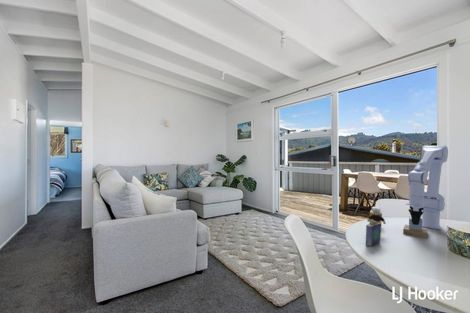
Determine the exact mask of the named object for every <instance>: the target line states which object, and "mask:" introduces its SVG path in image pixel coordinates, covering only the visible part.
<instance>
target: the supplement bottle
mask: <svg viewBox="0 0 470 313" xmlns="http://www.w3.org/2000/svg"><path fill="white" fill-rule="evenodd" d="M374 208H378V209H379V210H380V211H381V208H380V207H378V206H372V207H371V210H370V211H369V217H370V216H371V215H374V213H373V209H374ZM379 216H381V217H382V218H383V213H382V211H381V213H380V214H379ZM371 221H372V220H371ZM371 221H369V222H368V224H370V223H371ZM380 223H381V225H382V223H383V222H382V221H381V220H380Z"/></svg>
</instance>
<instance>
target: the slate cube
mask: <svg viewBox="0 0 470 313" xmlns="http://www.w3.org/2000/svg"><path fill="white" fill-rule="evenodd" d="M408 225H409V229H413V230H419V231H422V228H423V227H422V217H421V218H420V221H419V224H418V225H414V224H413V223H412V218H411V215H410V216H409V217H408Z"/></svg>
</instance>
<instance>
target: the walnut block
mask: <svg viewBox="0 0 470 313" xmlns="http://www.w3.org/2000/svg"><path fill="white" fill-rule="evenodd" d="M402 230H403V232H402V234H403V235H408V236H413V237H417V238H423V239H428V233H429V232H428V230H429V228H427V227H422V231H419V230H413V229H409V224H404V226H403V229H402Z"/></svg>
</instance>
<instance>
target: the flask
mask: <svg viewBox="0 0 470 313" xmlns="http://www.w3.org/2000/svg"><path fill="white" fill-rule="evenodd" d="M371 220H372V221H371ZM371 220H370V221H371V223H370V221H369V223H370V224H369V223H368V224H366V226H365V227H366V229H365V246H366V247H374V246H376V245H379V244H380V245H381V232H382V230H381V229H382V224H381V223H379V222H375V221H374V220H373V219H371Z"/></svg>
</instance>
